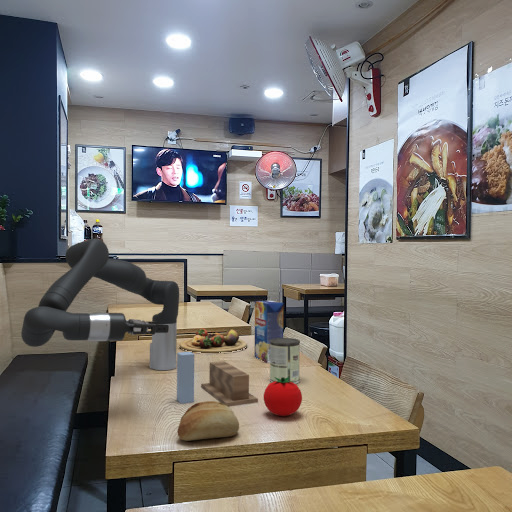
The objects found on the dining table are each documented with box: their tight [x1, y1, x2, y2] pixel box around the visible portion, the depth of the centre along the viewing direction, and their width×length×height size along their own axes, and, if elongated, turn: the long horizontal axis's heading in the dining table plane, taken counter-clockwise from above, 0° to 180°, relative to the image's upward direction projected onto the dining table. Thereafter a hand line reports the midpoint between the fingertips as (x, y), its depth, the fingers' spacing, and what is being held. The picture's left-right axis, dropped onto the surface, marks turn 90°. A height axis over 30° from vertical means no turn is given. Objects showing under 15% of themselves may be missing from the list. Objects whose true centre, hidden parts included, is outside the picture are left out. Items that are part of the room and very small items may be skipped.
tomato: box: [263, 377, 303, 417], centre depth 126 cm, size 10×10×10 cm
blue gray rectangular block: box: [176, 351, 195, 405], centre depth 138 cm, size 4×4×14 cm
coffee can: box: [269, 337, 301, 385], centre depth 161 cm, size 10×10×14 cm
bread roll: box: [177, 400, 240, 442], centre depth 110 cm, size 10×15×8 cm, turn 115°
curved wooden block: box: [200, 360, 259, 407], centre depth 145 cm, size 22×10×8 cm, turn 26°
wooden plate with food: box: [179, 327, 248, 353], centre depth 221 cm, size 32×32×8 cm
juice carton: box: [254, 300, 284, 364], centre depth 195 cm, size 12×8×24 cm, turn 25°
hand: (162, 326), depth 134 cm, fingers open, 8 cm apart
